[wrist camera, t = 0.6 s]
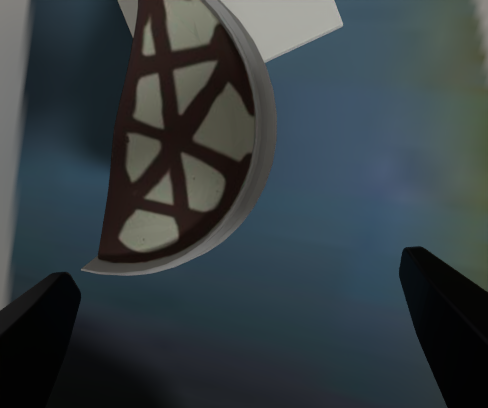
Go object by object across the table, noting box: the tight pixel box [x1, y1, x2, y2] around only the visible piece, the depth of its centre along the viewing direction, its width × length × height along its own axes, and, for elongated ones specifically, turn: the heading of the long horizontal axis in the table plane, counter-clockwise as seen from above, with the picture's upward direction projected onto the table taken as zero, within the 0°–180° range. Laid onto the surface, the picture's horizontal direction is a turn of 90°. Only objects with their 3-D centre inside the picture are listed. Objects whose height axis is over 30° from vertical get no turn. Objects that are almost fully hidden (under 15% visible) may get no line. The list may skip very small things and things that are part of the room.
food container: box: [81, 0, 277, 276], centre depth 17 cm, size 12×6×10 cm, turn 166°
